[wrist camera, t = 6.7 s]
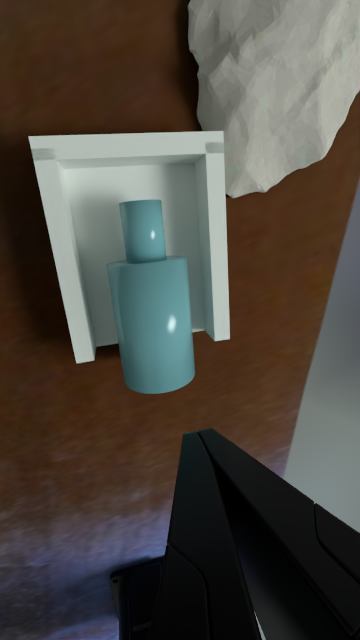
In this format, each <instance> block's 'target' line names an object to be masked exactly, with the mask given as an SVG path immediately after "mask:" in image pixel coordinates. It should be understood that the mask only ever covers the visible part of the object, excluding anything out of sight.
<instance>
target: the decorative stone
mask: <svg viewBox="0 0 360 640" xmlns="http://www.w3.org/2000/svg"><path fill="white" fill-rule="evenodd" d="M188 12H189V27H188V42H189V50H190V52H191V53H193V55H194V57H195V60H196V61H197V63H198V65H199V71H198V74H197V77H198V80H199V99H198V107H197V117H198V121H199V123H200V125H201V128H202V131H223V135H224V166H225V194H227V195H229V196H230V197H232V198H236V197H239V196H242V195H245V194H247V193H252V192H266V191H267V190H268V189H269V188H270V187H272V186H274V185H276V184H277V183H278V182H280V181H281V180H282V179H283V178H284V177H285V176H286V175H288V174H290V173H291V172H293V171H295V170H296V169H301V168H306V167H307V166H309V165H310V164H312V163H315V162H317V161H319V160H322V159H323V158H324V157H325V156H326V154H327V152H328V150H329V149H330V147H331V145H332V143H333V140H334V138H335V135H336V133H337V131H338V129H339V128H340V127H341V126H342V124H343V123H344V121H345V119H346V116H347V114H348V111H349V107H350V105H351V104H352V102H353V100H354V98H355V96H356V94H357V93H358V92H359V90H360V0H190V3H189V4H188Z"/></svg>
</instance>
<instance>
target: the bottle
mask: <svg viewBox="0 0 360 640" xmlns="http://www.w3.org/2000/svg"><path fill="white" fill-rule="evenodd" d="M119 209H120V217H121V224H122V232H123V239H124V246H125V254H126V260H121V261H115V262H111V263H108V264H106V268H107V274H108V280H109V287H110V293H111V300H112V306H113V312H114V319H115V325H116V331H117V338H118V344H119V351H120V357H121V363H122V370H123V376H124V382H125V384H126V386H127V387H128V388H130V389H132V390H134V391H136V392H140V393H149V394H156V393H165V392H169V391H173V390H176V389H179V388H181V387H183V386H185V385H186V384H188V383H189V382H190V381H191V380H192V379H193V377H194V375H195V366H194V352H193V338H192V324H191V310H190V296H189V283H188V269H187V257H185V256H166V246H165V235H164V224H163V213H162V202H161V200H136V201H127V202H122V203H119Z"/></svg>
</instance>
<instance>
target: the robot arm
mask: <svg viewBox="0 0 360 640" xmlns="http://www.w3.org/2000/svg"><path fill="white" fill-rule="evenodd" d="M110 586H111V590H112V595H113V599H114V603H115V607H116V612H117V616H118V620H119V640H262V638H261V634H260V631H259V627H258V623H257V620H256V616H257V618H258V621H259V623H260V626H261V628H262V631H263V633H264V636H265V638H266V640H360V533H359V532H357V531H356V530H354V529H353V528H351V527H350V526H348V525H347V524H346V523H344V522H343V521H341V520H339V519H338V518H337V517H335V516H334V515H332V514H331V513H330V512H328V511H327V510H325V509H324V508H323V507H321V506H320V505H318V504H317V503H316V504H314V501H313V500H311V499H310V498H309V497H307V496H306V495H304V494H303V493H302V492H300V491H299V490H297V489H296V488H294V487H293V486H292V485H290V484H289V483H288V482H286V481H285V480H284V479H282V478H281V477H279V476H278V475H277V474H275V473H274V472H272V471H271V470H270V469H268V468H267V467H265V466H264V465H263V464H261V463H260V462H259V461H257V460H256V459H254V458H253V457H252V456H250V455H249V454H247V453H246V452H245V451H243V450H242V449H240V448H239V447H238V446H236V445H235V444H234V443H232V442H231V441H229V440H228V439H227V438H225V437H224V436H222V435H221V434H220V433H218V432H217V431H215V430H214V429H212V428H207V429H202V430H199V431H198V432H196V431H193V432H188V433H184V434H183V438H182V445H181V452H180V458H179V465H178V472H177V479H176V485H175V492H174V499H173V505H172V512H171V519H170V525H169V532H168V539H167V546H166V550H165V557H164V558H163V559H160V560H156V561H153V562H149V563H146V564H142V565H139V566H135V567H132V568H128V569H125V570H121V571H118V572H114V573H112V574H111V575H110ZM254 611H255V613H256V616H255V613H254Z"/></svg>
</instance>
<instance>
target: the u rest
mask: <svg viewBox="0 0 360 640" xmlns="http://www.w3.org/2000/svg"><path fill="white" fill-rule="evenodd" d="M28 137H29V142H30V146H31V151H32V156H33V160H34V165H35V170H36V175H37V179H38V184H39V189H40V194H41V198H42V203H43V208H44V213H45V217H46V222H47V227H48V231H49V236H50V241H51V246H52V250H53V255H54V260H55V265H56V269H57V274H58V279H59V284H60V288H61V293H62V298H63V302H64V307H65V312H66V317H67V321H68V326H69V331H70V336H71V340H72V345H73V350H74V354H75V359H76V363H82V362H88V361H94V358H95V352H96V347H98V346H104V345H111V344H117V343H118V338H117V331H116V325H115V319H114V312H113V306H112V300H111V293H110V287H109V280H108V274H107V268H106V264H108V263H111V262H115V261H121V260H126V254H125V246H124V239H123V232H122V224H121V217H120V209H119V203H122V202H127V201H136V200H161V202H162V213H163V224H164V235H165V246H166V256H185V257H187V269H188V283H189V296H190V310H191V324H192V332H196V331H203V330H205V331H206V332H207V333H208V334H209V335H210V336H211V338H212V339H213V340H214V341H220V340H226V339H230V325H229V293H228V262H227V230H226V198H225V166H224V135H223V131H202V132H166V133H130V134H95V135H59V136H28Z"/></svg>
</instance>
